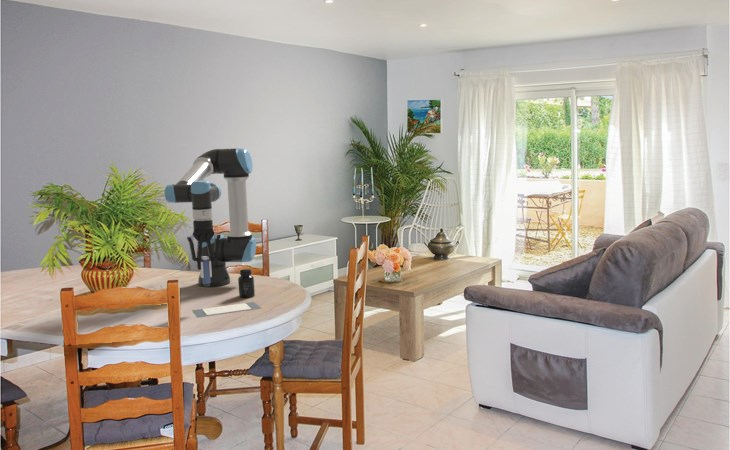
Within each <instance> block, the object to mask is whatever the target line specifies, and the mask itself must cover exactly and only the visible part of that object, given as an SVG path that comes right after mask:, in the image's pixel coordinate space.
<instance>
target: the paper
mask: <svg viewBox="0 0 730 450" xmlns="http://www.w3.org/2000/svg"><path fill="white" fill-rule="evenodd" d="M246 303H247V302H244V303H242V304H241V303H235V305H234V304H229V305H228V306H227V305H222V306H221V307H219V306H214V307H213V306H212V307H213V308H212V307H207V308H206V307H205V308H206V309H205V308H201V309H202V310H203V311H204V312H205V313H206V315H213V316H215V315H214V314H220V315H222V314H221V313H227V314H229V313H228V312H234V313H236V312H235V311H241V312H243V311H242V310H248V311H250V310H249V309H251V308H250V307H249V306H248V305H247V304H246Z"/></svg>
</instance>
